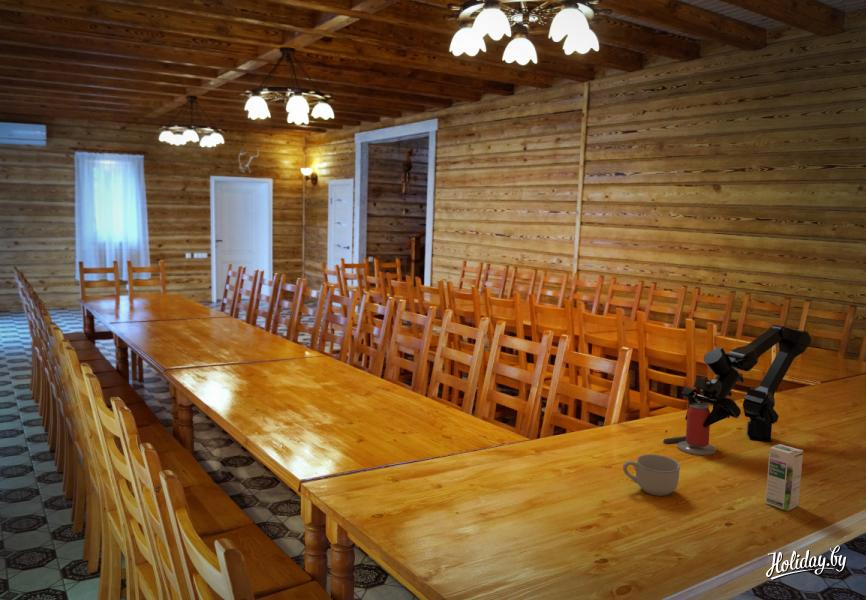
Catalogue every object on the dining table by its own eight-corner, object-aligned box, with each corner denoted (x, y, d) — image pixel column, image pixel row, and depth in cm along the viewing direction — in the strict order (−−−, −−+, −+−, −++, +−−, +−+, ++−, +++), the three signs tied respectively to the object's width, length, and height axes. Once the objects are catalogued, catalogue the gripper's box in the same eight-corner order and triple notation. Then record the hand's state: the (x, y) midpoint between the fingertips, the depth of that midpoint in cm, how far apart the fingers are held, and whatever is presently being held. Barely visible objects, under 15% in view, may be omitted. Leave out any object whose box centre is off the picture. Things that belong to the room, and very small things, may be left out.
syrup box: (764, 503, 165) (768, 447, 163) (776, 498, 168) (780, 442, 167) (787, 512, 160) (792, 454, 158) (799, 506, 164) (804, 449, 162)
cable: (689, 439, 214) (689, 434, 213) (692, 441, 212) (692, 436, 212) (662, 443, 210) (662, 438, 210) (665, 444, 208) (665, 439, 208)
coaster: (714, 445, 207) (714, 443, 207) (717, 457, 197) (717, 454, 197) (676, 441, 211) (676, 439, 211) (677, 452, 200) (677, 450, 200)
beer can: (713, 446, 202) (715, 407, 200) (695, 448, 200) (698, 409, 198) (698, 439, 208) (700, 402, 206) (681, 441, 206) (682, 403, 204)
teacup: (678, 486, 175) (679, 457, 174) (679, 502, 165) (680, 471, 164) (623, 479, 180) (624, 450, 179) (620, 494, 169) (622, 464, 168)
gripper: (687, 361, 211) (659, 399, 208) (736, 374, 194) (706, 415, 191) (704, 383, 215) (676, 420, 212) (753, 397, 198) (724, 438, 195)
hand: (695, 423), depth 202 cm, fingers closed on beer can, 7 cm apart
